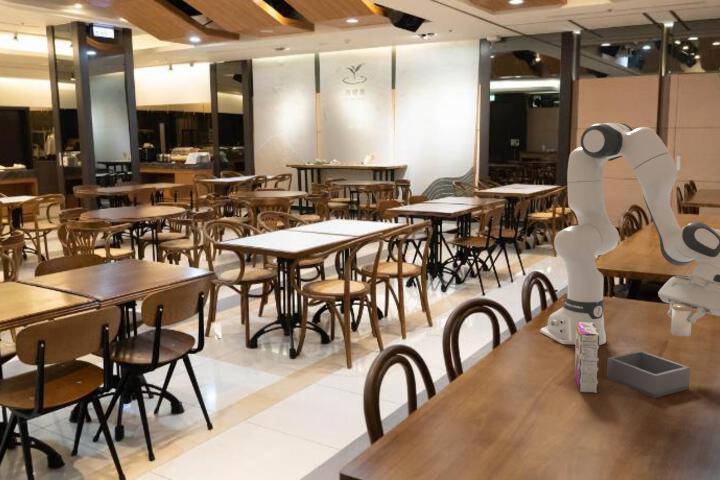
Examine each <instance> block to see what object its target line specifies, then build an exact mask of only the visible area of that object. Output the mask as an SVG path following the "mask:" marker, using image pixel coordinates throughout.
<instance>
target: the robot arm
mask: <svg viewBox="0 0 720 480" xmlns="http://www.w3.org/2000/svg"><path fill="white" fill-rule="evenodd" d="M623 157H624V158H625V159H626V160H627V162H628V163H629V165H630V167H631V169H632V172H633V173H634V174H635V177H636V179H637V181H638V183H639V186H640V189H641V191H642V195H643V199H644V203H645V205H646V207H647V208H646V209H647V210H648V213H649V215H650V218H651V220H652V222H653V225H654V227H655V229H656V232H657V235H658V237H659V238H658V239H659V248H660V252H661V255H662V256H663V258H664V259H665V260H666V262H668V263H669V264H671V265H674V266H678V267H683V266H686V265H688V264H690V263H692V262H693V261H695V262H696V264H695V266H694V267H693V269H692V270H691V272H690V273H689V275H688V276H685V275H682V274H681V275H680V274H677V275H674V276H671V277H670V278H669V279H668V280H667V281H666V282H665V283H664V284H663V286H661V288H660V289H659V290H658V291H657V293H658V297H659V298H660V300H661V301H662V302H663V303H665V304H669V310H668V311H667V313H666V315H668V317H670V318H672V306H673V304H687V305H690V306H692V311H693V310H694V311H696V312H694V313H692V314H690V315H689V317H688V318H687V320H688V322H691V324H695V323H696V322H697V321H698V320H699V319H700V318H702V317H704V316H705V315H706V314H709V315H713V316H717V317H720V229H716V228H713V227H710V226H709V225H708V224H706V223H703V222H699V221H694V222H690V223H687V224H686V225H684V226H683V227H680V225H679V223H678V220H677V218H676V215H675V213H674V211H673V208H672V205H671V194H672V190H673V187H674V185H675V184H676V181H677V179H678V175H679V174H678V168H677V165H676V163H675V160H674V158H673V157H672V154H671V153H670V151H669V149H668V147H667V146H666V145H665V143H664V142H663V140H662V138H661V137H660V136H659V135H658V134H657V132H655V130H653V128H651V127H647V126H641V127H637V128H635V129H633V128H632V127H631V126H629V125H627V124H626V123H621V122H620V123H619V122H613V121H612V122H611V121H610V122H609V121H608V122H605V123H601V122H600V123H595V124H592V125H590V126H588V127H587V128H586V129H585V130H584V131H583V133H582V135H581V137H580V146H579V147H577V148H575V149H573V150H572V151H571V152H570V154H569V157H568V163H567V174H566V175H567V176H566V178H567V180H566V181H567V205H568V207H569V209H570V210H571V211H572V212H573V213H574V214H575V216H576V219H577V223H578V224H574V225H570V226H568V227H565V228H563V229H562V230H560V231H559V232H557V233H556V235H555V237H554V239H553V240H554V241H553V247H554V250H555V251H556V253H557V255H558V256H559V257H560V258H561V259H562V261H563V262H564V266H565V269H566V273H567V296H566V297H565V296H564V297H561V302H564V303H563V304H562V307H561V308H559V309H558V310H556V311H554V312H553V313H551V314H550V315H549V316H548V319H547V325H546V326H544V327H541V328H540V331H539V332H540V333H541V334H543V335H545V336H547V337H548V338H551V339H552V340H554V341H556V342H558V343H559V344H562V345H573V346H574V345H576V322H590V323H594V325H595V327H596V329H597V331H598V333H599V346H601V345H604V344H606V343H607V338H606V337H607V336H606V335H607V334H606V332H605V321H604V310H605V298H604V279H605V278H604V274H603V273H602V272H601V271H599V269H598V267H597V264H596V257H597V256H604V255H606V254H608V253H610V252H611V251H613V250H614V249H616V247H618V245H619V242H620V235H619V231H618V229H617V228H616V226H614V225H613V224H612V222H611V220H610V218H609V215H608V212H607V208H606V204H605V189H604V188H605V187H604V186H605V185H604V166H605V164H606V163H607V162H608V161H609V162H611V161H613V160H616V159H620V158H623Z"/></svg>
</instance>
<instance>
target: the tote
mask: <svg viewBox="0 0 720 480" xmlns="http://www.w3.org/2000/svg"><path fill="white" fill-rule="evenodd" d="M606 360H607V365H606V379H608V380H610V381H612V382H615V383H617V384H619V385H622V386H625V387H627V388H629V389H632V390H634V391H636V392H638V393H641V394H644V395H646V396H649V397H651V398H653V399H656V398H661V397H664V396H667V395H671V394H675V393H678V392H679V393H680V392H682V391H686V390H689V389H690V376H691V367H690V366H687V365H684V364H681V363H678V362H675V361H673V360H669V359H666V358H664V357H661V356H658V355H655V354H653V353H649V352H646V351H643V350H637V351H633V352H628V353H624V354H620V355H619V354H618V355H615V356H611V357H607V359H606Z"/></svg>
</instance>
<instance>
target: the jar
mask: <svg viewBox="0 0 720 480" xmlns="http://www.w3.org/2000/svg"><path fill="white" fill-rule="evenodd" d="M690 314H692V315H693V309H692V306H690V305H687V304H673V306H672V317H671V322H670V323H671V325H670V326H671V327H670V333H671V334H672V335H674V336H677V337H689V336H691V335H692V323H691V322H688V320H687V318H688V317H689V315H690Z"/></svg>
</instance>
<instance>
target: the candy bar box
mask: <svg viewBox="0 0 720 480" xmlns="http://www.w3.org/2000/svg"><path fill="white" fill-rule="evenodd" d="M574 348H575V351H574V352H575V355H574V357H575V359H574V361H575V363H574V379H575V382H576V385H577V388H578V392H579V393H585V394H586V393H587V394H591V393H592V394H598V393H599V392H598V391H599V390H598V389H599V387H598V386H599V362H600V361H599V359H600V358H599V356H600V352H599V351H600V345H599V333H598V331H597V329H596V327H595V325H594V323H590V322H576V345H575V346H574Z"/></svg>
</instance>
